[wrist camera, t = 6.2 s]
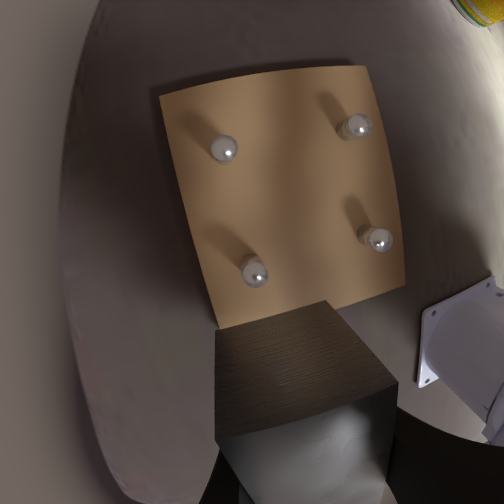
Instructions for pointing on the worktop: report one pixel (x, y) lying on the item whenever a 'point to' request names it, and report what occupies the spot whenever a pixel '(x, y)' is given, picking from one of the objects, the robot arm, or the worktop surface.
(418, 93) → the worktop surface
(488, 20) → the supplement bottle
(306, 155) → the pin tray
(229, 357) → the plate
